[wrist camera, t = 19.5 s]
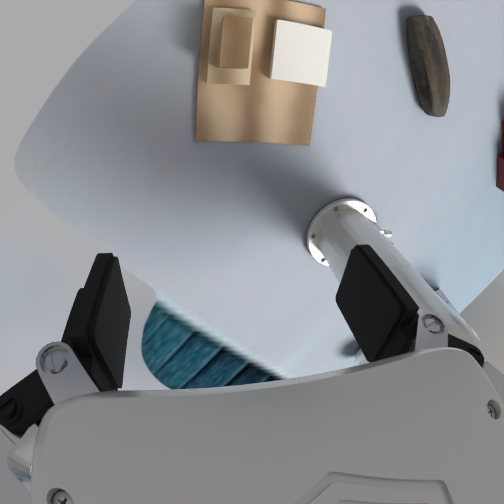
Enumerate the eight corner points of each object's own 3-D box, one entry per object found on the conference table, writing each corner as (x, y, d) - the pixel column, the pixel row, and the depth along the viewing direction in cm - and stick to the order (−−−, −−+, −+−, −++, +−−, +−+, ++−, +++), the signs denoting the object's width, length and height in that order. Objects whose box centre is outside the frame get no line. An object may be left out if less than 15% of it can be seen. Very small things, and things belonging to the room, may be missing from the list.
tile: (320, 86, 32) (327, 32, 27) (325, 87, 31) (332, 31, 26) (268, 78, 31) (274, 21, 26) (271, 78, 29) (277, 19, 25)
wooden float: (254, 12, 25) (264, 3, 21) (248, 84, 31) (256, 86, 27) (212, 9, 24) (215, -1, 20) (206, 83, 30) (208, 84, 26)
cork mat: (323, 9, 26) (325, 8, 25) (307, 144, 37) (309, 145, 37) (205, -7, 23) (205, -8, 22) (195, 140, 34) (195, 141, 34)
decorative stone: (399, 13, 26) (416, 11, 23) (428, 17, 26) (445, 17, 23) (413, 114, 36) (430, 120, 33) (439, 112, 36) (456, 117, 33)
